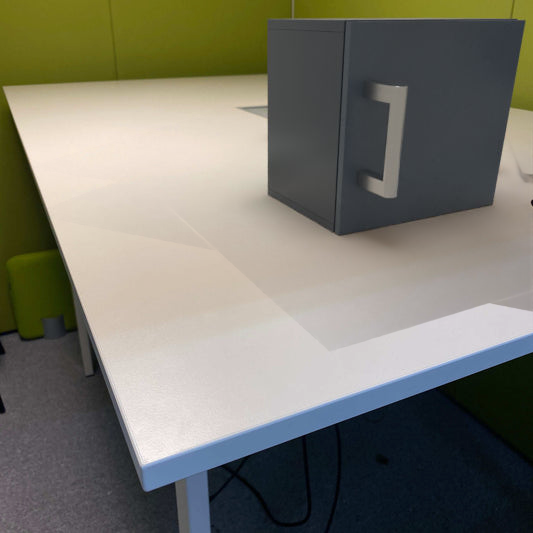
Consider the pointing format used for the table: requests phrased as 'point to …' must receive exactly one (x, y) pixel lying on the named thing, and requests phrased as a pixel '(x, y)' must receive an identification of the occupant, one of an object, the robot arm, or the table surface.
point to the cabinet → (309, 111)
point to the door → (422, 118)
